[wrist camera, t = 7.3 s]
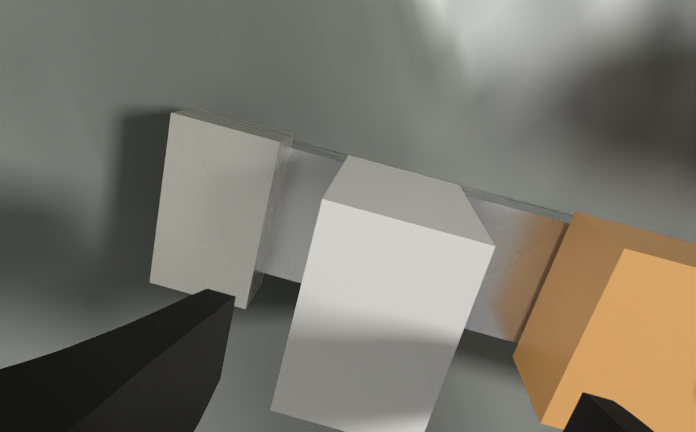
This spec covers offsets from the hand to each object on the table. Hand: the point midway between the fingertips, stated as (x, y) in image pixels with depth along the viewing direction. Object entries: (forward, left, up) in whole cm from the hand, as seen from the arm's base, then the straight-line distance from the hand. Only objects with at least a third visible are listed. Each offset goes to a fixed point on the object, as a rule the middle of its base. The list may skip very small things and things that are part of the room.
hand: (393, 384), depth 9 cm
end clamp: (0, -9, -8) cm, 12 cm away
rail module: (0, +1, -8) cm, 8 cm away
